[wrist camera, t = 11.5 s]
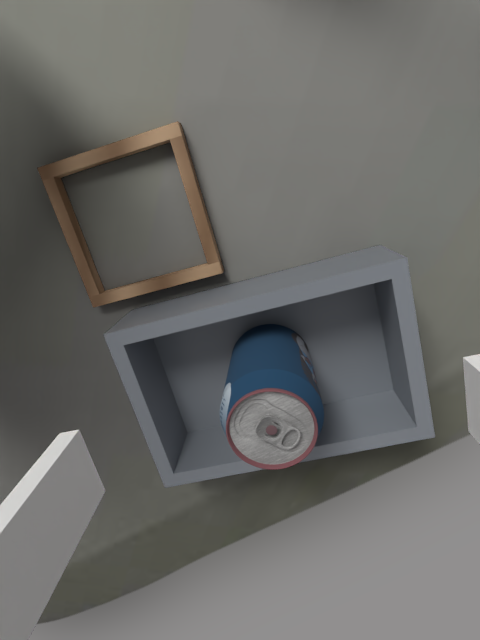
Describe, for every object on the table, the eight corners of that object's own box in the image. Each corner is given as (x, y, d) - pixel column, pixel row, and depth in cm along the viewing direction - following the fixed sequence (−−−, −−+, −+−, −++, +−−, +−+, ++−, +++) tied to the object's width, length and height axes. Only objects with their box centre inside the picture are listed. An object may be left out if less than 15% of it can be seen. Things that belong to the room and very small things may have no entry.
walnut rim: (98, 303, 36) (93, 307, 35) (45, 168, 33) (37, 168, 32) (224, 270, 34) (222, 273, 33) (181, 123, 31) (177, 121, 30)
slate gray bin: (181, 441, 40) (165, 487, 34) (131, 309, 36) (103, 334, 30) (406, 395, 37) (435, 437, 30) (380, 244, 33) (407, 257, 26)
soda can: (219, 369, 37) (197, 449, 25) (254, 305, 34) (247, 361, 23) (285, 401, 37) (293, 494, 26) (323, 341, 35) (350, 413, 24)
